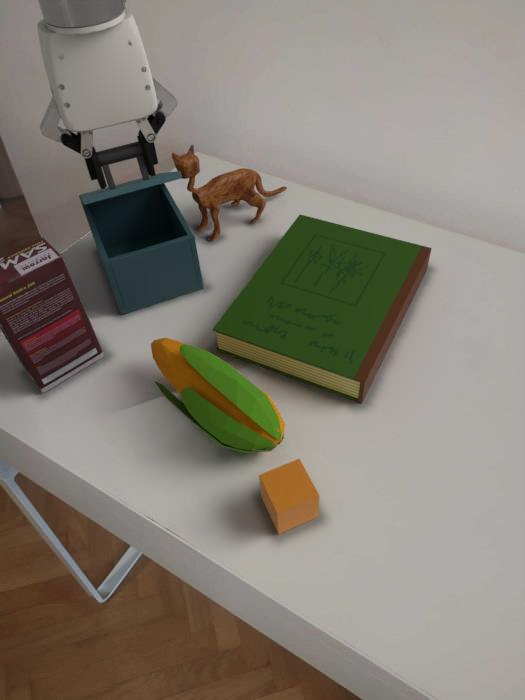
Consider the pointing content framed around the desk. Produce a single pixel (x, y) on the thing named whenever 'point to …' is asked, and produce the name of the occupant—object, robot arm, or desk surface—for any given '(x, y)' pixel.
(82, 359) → the supplement box
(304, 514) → the cheese block
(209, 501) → the desk surface
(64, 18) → the robot arm
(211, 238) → the cat figurine
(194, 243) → the box
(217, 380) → the corn
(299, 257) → the book
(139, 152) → the lid
